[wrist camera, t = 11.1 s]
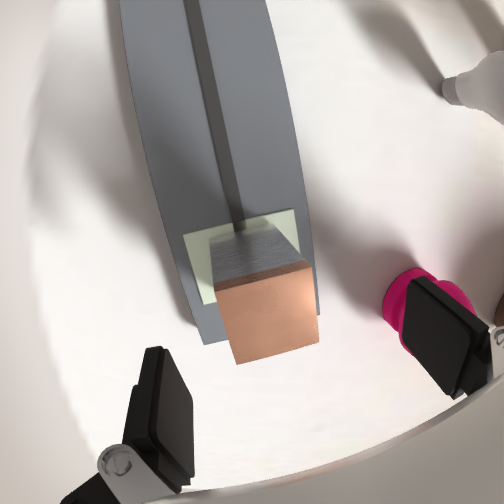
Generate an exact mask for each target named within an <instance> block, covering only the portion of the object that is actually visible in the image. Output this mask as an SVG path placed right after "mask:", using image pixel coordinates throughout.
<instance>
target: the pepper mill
mask: <svg viewBox="0 0 504 504" xmlns="http://www.w3.org/2000/svg"><path fill="white" fill-rule="evenodd" d="M419 276H425V277H427V278H428V279H430V280H431V281H432V282H434V283H435V284H436V285H437V286H439V287H440V288H441V289H443V290H444V291H445V292H447V293H448V294H449V295H450V296H452V297H453V298H454V299H456V300H457V301H458V302H459V303H461V304H462V305H463V306H464V307H466V308H467V309H468V310H469V311H471V312H472V313H473V314H474V315H475V316H476V314H475V311H474V309H473V307H472V305H471V302H470V301H469V299H468V298H467V296H466V295H465V293H464V292H463V291H462V290H461V289H460V288H459V287H458V286H456V285H455V284H454V283H452V282H450V281H445V280H439V281H438V280H437V279H436V278H435V277H434V276H432V275H431V274H430V273H428V272H427V271H425V270H423V269H420V268H416V269H411V270H409V271H406V272H404V273H403V274H402V275H400V276H399V277H398V278H397V279H396V280H395V281H394V282H393V283H392V284H391V286H390V288H389V289H388V291H387V293H386V296H385V298H384V302H383V308H382V309H383V316H384V318H385V320H386V321H387V322H388V323H389V324H390V325H391V326H392V328H393V329H394V330H395V331H397V332H399V339H400V342H401V344H402V346H403V347H404V349H406V350H407V351H408V352H409V353H410V354H411V355H412V356H414V355H413V354H412V353H411V352H410V351H409V349H408V348H407V347H406V346H405V345H404V343H403V341H402V329H403V321H404V312H405V302H406V291H407V285H408V284H409V282H410V280H412V279H414V278H417V277H419ZM414 357H415V356H414Z"/></svg>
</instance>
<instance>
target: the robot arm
mask: <svg viewBox="0 0 504 504" xmlns="http://www.w3.org/2000/svg"><path fill="white" fill-rule="evenodd" d="M488 329H489V326H487V325H486V324H485V323H484V322H483V321H481V320H480V319H479V318H478V317H477V316H475V315H474V314H473V313H472V312H471V311H469V310H468V309H467V308H466V307H464V306H463V305H462V304H461V303H459V302H458V301H457V300H456V299H454V298H453V297H452V296H450V295H449V294H448V293H447V292H445V291H444V290H443V289H441V288H440V287H439V286H437V285H436V284H435V283H434V282H432V281H431V280H430V279H428V278H427V277H425V276H419V277H417V278H414V279H412V280H410V282H409V284H408V285H407V291H406V302H405V312H404V321H403V329H402V341H403V343H404V345H405V346H406V347H407V348H408V349H409V351H410V352H411V353H412V354H413V355H414V356H415V358H416V359H417V360H418V361H419V362H420V364H421V365H422V366H423V367H424V368H425V370H426V371H427V372H428V373H429V374H430V376H431V377H432V378H433V379H434V381H435V382H436V383H437V384H438V386H439V387H440V388H441V389H442V391H443V392H444V393H445V394H446V395H450V396H451V398H452V399H453V400H455V399H457V398H458V397H460V396H461V395H463V394H464V392H465V393H466V394H467V397H466V398H465V399H463V400H462V401H460V402H459V403H457V404H455V405H454V406H452V407H451V408H449V409H447V410H446V411H444V412H442V413H440V414H439V415H437V416H435V417H433V418H432V419H430V420H428V421H426V422H424V423H422V424H421V425H419V426H417V427H415V428H413V429H411V430H409V431H407V432H405V433H403V434H401V435H399V436H397V437H394V438H392V439H390V440H388V441H386V442H383V443H381V444H379V445H376V446H374V447H372V448H369V449H367V450H364V451H362V452H359V453H357V454H354V455H351V456H349V457H346V458H343V459H340V460H337V461H334V462H331V463H328V464H325V465H322V466H319V467H315V468H312V469H309V470H305V471H302V472H298V473H294V474H290V475H286V476H282V477H278V478H273V479H269V480H264V481H259V482H254V483H249V484H243V485H237V486H231V487H225V488H217V489H209V490H202V491H194V492H186V493H180V492H181V491H182V490H181V489H182V488H181V486H185V485H191V484H190V478H193V477H194V475H195V469H194V435H193V400H192V396H191V394H190V392H189V390H188V388H187V387H186V385H185V383H184V381H183V379H182V377H181V375H180V373H179V371H178V369H177V367H176V365H175V363H174V360H173V358H172V356H171V354H170V352H169V350H168V349H163V347H162V346H156V347H151V348H146V350H145V354H144V358H143V363H142V367H141V372H140V377H139V381H138V385H134V386H133V389H132V392H131V397H130V402H129V407H128V412H127V417H126V423H125V428H124V434H123V440H122V444H116V445H112V446H110V447H108V448H106V449H105V450H104V451H103V452H102V453H101V454H100V456H99V458H98V462H97V468H98V471H99V472H98V473H97V474H96V475H94V476H93V477H92V478H90V479H89V480H88V481H86V482H85V483H84V484H82V485H81V486H80V487H78V488H77V489H76V490H74V491H73V492H71V493H70V494H69V495H67V496H66V497H65V498H64V499H63V500H62V501H61V503H60V504H504V326H501V327H497V328H495V329H494V330H492V332H491V334H490V333H489V332H488Z"/></svg>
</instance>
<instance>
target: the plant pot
mask: <svg viewBox="0 0 504 504" xmlns="http://www.w3.org/2000/svg"><path fill="white" fill-rule="evenodd" d="M495 325H496V327H501V326H504V296H503V297H502V299H501V301H500V303H499V306H498V308H497V311H496V315H495Z"/></svg>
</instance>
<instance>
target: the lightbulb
mask: <svg viewBox="0 0 504 504" xmlns="http://www.w3.org/2000/svg"><path fill="white" fill-rule="evenodd" d="M441 88H442V94H443V96H444V98H445V100H446V101H447V102H448V103H449V104H451V105H459V106H466V107H468V108H472V109H478V110H481V111H484V112H486V113H488V114H489V115H490V116H491V117H493V118H494V119H495V120H497V121H498V122H500V123H501V124H503V125H504V50H499V51H495V52H492V53H490V54H488V55H487V56H486V57H485V58H484V59H483V60H482V61H481V62H480V63H479V65H478V66H477V67H476V68H474V69H473V70H471V71H468V72H465V73H461V74H459V75H458V76H457V77H451V78H447V79H445V80H444V81H443V83H442V87H441Z"/></svg>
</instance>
